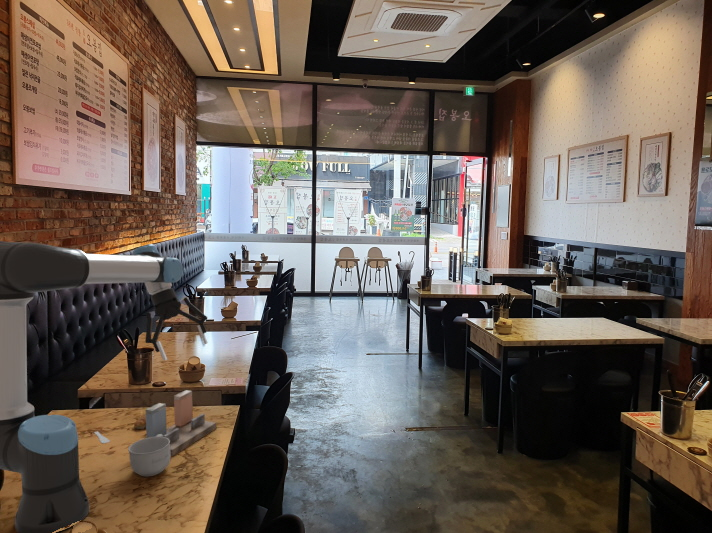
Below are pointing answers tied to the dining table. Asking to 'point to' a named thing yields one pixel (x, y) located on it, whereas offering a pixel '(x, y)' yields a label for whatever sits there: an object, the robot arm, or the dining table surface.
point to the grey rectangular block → (156, 420)
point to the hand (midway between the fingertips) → (186, 352)
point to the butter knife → (102, 438)
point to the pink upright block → (183, 408)
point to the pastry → (140, 422)
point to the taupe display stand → (188, 433)
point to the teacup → (150, 455)
